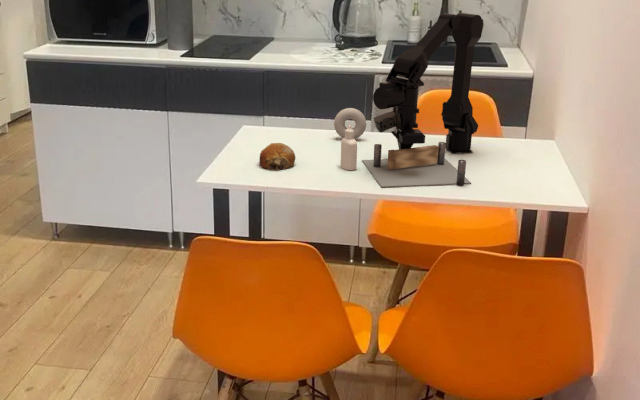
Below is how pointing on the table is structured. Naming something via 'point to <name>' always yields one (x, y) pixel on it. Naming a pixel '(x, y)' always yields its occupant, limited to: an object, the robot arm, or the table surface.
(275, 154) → the bread roll
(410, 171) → the mat
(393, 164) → the gate
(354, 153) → the eye dropper bottle
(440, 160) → the gate posts
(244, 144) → the table surface
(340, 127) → the donut
